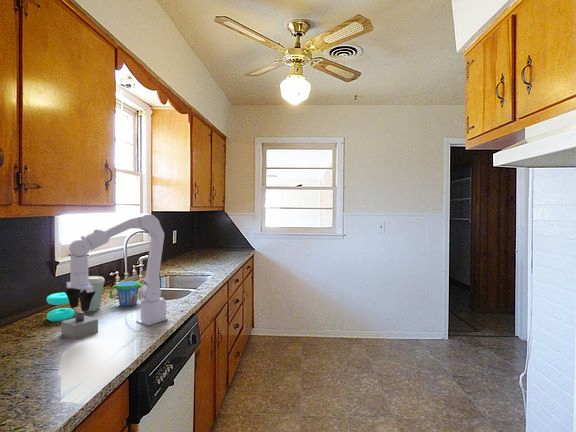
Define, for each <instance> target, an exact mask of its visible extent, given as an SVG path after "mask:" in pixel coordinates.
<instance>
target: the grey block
mask: <svg viewBox="0 0 576 432" xmlns="http://www.w3.org/2000/svg"><path fill="white" fill-rule="evenodd" d="M74 316H75V317H72V318H70V319H67V320H63V321H60V323H61V326H60V327H61V333H60V334H61V335H62V336H64V337H67V338H70V339H73V340H76V339H79V338H83V337H86V336H89V335H90V336H91V335H93V334H96V333H99V319H98V318H95V317H92V316H89V315H85V311H84V312H83V311H82V310H80V311H76V312H75V315H74Z"/></svg>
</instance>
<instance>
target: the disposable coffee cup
mask: <svg viewBox="0 0 576 432" xmlns="http://www.w3.org/2000/svg"><path fill="white" fill-rule="evenodd" d="M105 281H106V280H105V278H104V277H103V276H99V275H92V276H91V275H90V276H89V275H88V283H89V284H90V285H91V286H93V291H95V294H94V296H93V298H92V300H91V303H90V307H89V310H88V311H87V312H95V311H98V310H99V309H100V306H101V302H102V296H103V291H104V284H105ZM80 292H83V290H81V291H80Z"/></svg>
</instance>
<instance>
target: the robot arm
mask: <svg viewBox="0 0 576 432" xmlns="http://www.w3.org/2000/svg"><path fill="white" fill-rule="evenodd" d="M131 229H136V230H137V229H138V230H139V229H141V230H143V231H144V232H145V233H146V234H147V235H148V236H149V237H150V242H149V249H148V257H147V265H146V271H145V272H146V273H145V276H144V278H143V282H142V283H141V284H142V285H141V286H139V292H140V294H141V295H142V297H141V299H140V319H137V320H135V322H136V323H139V324H143V325H145V326H151V325H154V324H157V323H160V322H163V321H166V320H168V317H167V302H166V300H165V298H163V297H161V295H162V290H161V287H160V286H161V281H160V271H161V263H162V256H163V255H162V254H163V250H164V249H163V248H164V240H165V232H164V229H163V228H162V225H161V223H160V220H159V219H158V218H157V217H156V216H155V215H153V214H150V213H139V214H138V215H135V216H131V217H129V218H126V219H125V220H124V221H121V222H119V223H118V224H115V225H113V226H111V227H110V228H108V229H102V228H100V229H93V232H91V233H88V234H87V235H85V236H84V235H81V236H80V239H75V240H73V241H72V242H71V243H70V245H69V247H68V249H69V252H70V256H69V257H70V261H69V265H70V267H69V268H70V270H69V271H70V272H69V273H70V278H69V279H70V281H67V282H66V288H67V289H63V292H65V293H66V295H67V297H68V300H69V303H68V304H69V306H70V309H74V308H77V307H78V306H79V301H80V308H81V311H83V312H84V313H85V312H89V311H88V310H89V307H90V303H91V300H92V298H93V296H94V294H95V291H93V286H91V285H90V284H89V283H88V276H89V259H88V258H89V257H88V254H89V252H90V251H94V250H95V249H98V248H99V247H102V246H103V245H106V244H107V243H109V241H110V239H111V238H112V237H114V236H116V235H118V234H121V233H124V232H125V231H127V230H131ZM81 290H83V292H80V291H81Z"/></svg>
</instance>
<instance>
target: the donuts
mask: <svg viewBox="0 0 576 432" xmlns="http://www.w3.org/2000/svg"><path fill="white" fill-rule="evenodd" d="M46 302H47V303H48V305H49V304H50V305H52V306H53V305H55V306H58V305H59V306H62V305H67V304H70V303H69V300H68V297H67V295H66V293H65V292H64V291H63V292H56V293H51V294H50V295H47V297H46ZM75 313H76V312H75V310H74V308H71V307H60V308H56V309H53V310H51V311H49V312H48V313H47V315H46V319H47V320H48V321H50V322H61V321H65V320H69V319H73V318H74V316H75Z"/></svg>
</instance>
